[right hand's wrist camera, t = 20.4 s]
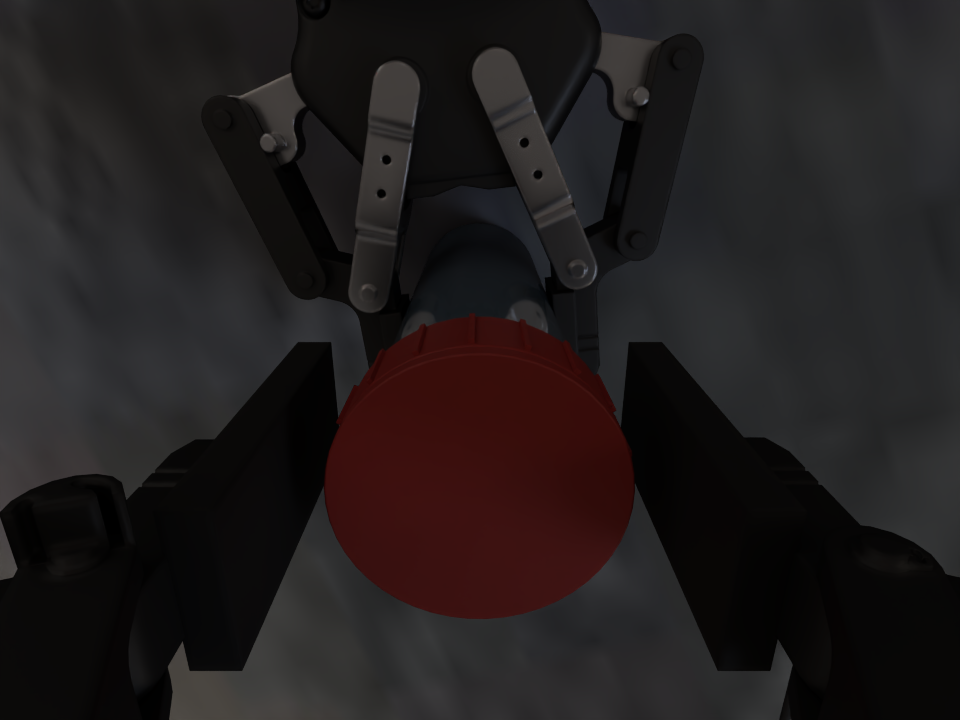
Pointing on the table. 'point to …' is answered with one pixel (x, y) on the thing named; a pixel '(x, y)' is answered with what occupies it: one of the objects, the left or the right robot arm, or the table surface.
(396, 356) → the lid
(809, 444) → the table surface
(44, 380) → the table surface
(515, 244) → the jar
